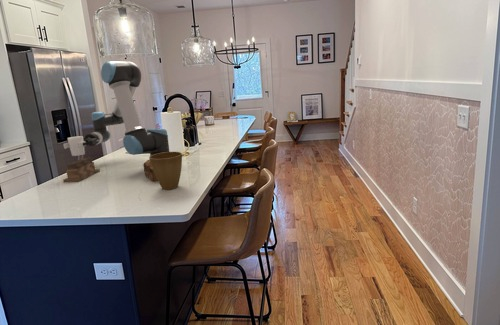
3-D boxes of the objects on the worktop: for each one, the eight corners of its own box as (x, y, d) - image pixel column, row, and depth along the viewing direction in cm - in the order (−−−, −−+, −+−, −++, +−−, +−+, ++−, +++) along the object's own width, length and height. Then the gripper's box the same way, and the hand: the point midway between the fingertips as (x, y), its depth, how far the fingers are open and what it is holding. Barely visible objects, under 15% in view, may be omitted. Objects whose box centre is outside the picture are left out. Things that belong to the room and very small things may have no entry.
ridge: (85, 172, 203) (82, 156, 201) (99, 171, 202) (97, 156, 200) (63, 182, 181) (60, 165, 179) (79, 181, 181) (76, 164, 178)
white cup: (74, 153, 192) (71, 136, 190) (88, 152, 193) (85, 135, 191) (68, 156, 185) (64, 138, 182) (82, 155, 185) (79, 137, 183)
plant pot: (151, 186, 162) (147, 154, 159) (182, 181, 168) (178, 150, 164) (156, 194, 149) (151, 160, 145) (188, 188, 154) (185, 155, 151)
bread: (172, 179, 174) (169, 160, 171) (151, 183, 169) (148, 164, 167) (163, 172, 190) (161, 155, 187) (144, 175, 185) (141, 158, 183)
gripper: (110, 144, 205) (90, 151, 183) (78, 145, 207) (55, 153, 184) (108, 132, 203) (88, 138, 181) (76, 133, 205) (52, 139, 183)
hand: (71, 145), depth 183 cm, fingers closed on white cup, 7 cm apart
